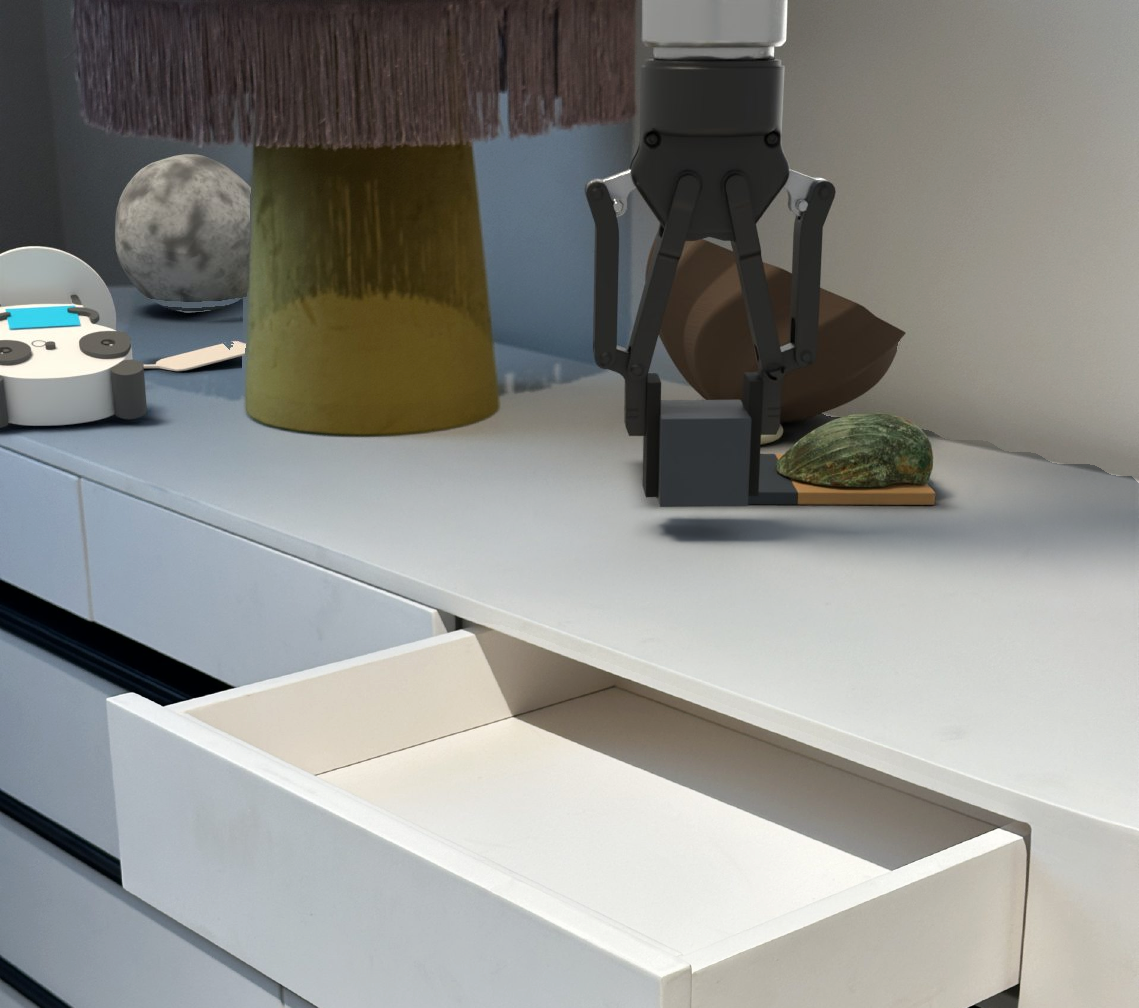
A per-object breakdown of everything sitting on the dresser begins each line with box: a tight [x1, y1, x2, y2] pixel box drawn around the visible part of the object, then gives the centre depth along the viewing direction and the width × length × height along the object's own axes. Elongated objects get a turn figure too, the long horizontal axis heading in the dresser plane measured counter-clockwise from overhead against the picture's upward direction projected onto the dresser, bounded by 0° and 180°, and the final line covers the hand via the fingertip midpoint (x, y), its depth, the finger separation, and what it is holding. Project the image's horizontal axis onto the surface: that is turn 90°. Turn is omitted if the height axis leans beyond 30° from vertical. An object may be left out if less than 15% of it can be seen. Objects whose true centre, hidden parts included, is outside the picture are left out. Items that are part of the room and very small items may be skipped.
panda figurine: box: [0, 245, 148, 429], centre depth 124 cm, size 12×11×15 cm
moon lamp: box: [114, 153, 252, 311], centre depth 165 cm, size 15×16×15 cm
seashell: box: [775, 412, 934, 487], centre depth 107 cm, size 10×4×10 cm
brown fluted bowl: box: [644, 231, 907, 424], centre depth 122 cm, size 19×20×10 cm
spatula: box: [143, 340, 247, 372], centre depth 138 cm, size 6×29×2 cm, turn 121°
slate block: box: [656, 399, 751, 508], centre depth 96 cm, size 5×5×5 cm
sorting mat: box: [748, 453, 936, 506], centre depth 108 cm, size 17×10×1 cm, turn 92°
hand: (699, 489), depth 97 cm, fingers closed on slate block, 5 cm apart
